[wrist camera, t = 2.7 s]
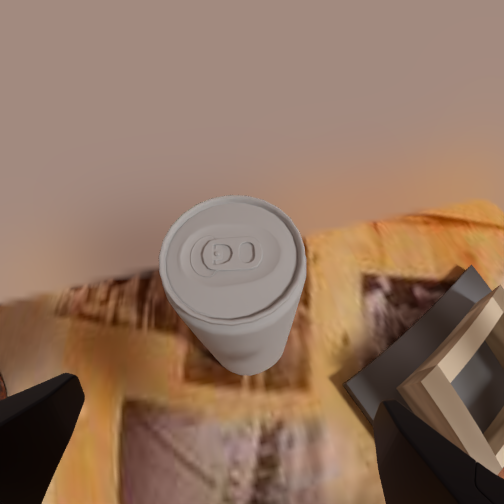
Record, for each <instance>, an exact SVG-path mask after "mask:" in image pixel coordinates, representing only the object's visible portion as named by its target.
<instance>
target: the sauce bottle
mask: <svg viewBox="0 0 504 504" xmlns="http://www.w3.org/2000/svg"><path fill="white" fill-rule="evenodd" d="M6 396H7V394H6V390H5V386H4V383H3V380H2V378H1V375H0V400H2V399H5V398H6Z"/></svg>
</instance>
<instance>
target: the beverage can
mask: <svg viewBox="0 0 504 504" xmlns="http://www.w3.org/2000/svg"><path fill="white" fill-rule="evenodd" d="M159 273H160V277H161V279H162V285H163V288H164V291H165V293H166V296H167V299H168V301H169V303H170V304H171V305H172V307H173V308H174V310H175V311H176V312H177V314H178V315H179V316H180V317H181V319H182V320H183V321H184V322H185V323H186V325H187V326H188V327H189V328H190V329H191V331H192V332H193V333H194V334H195V335H196V336H197V338H198V339H199V340H200V341H201V342H202V343H203V344H204V346H205V347H206V348H207V349H208V350H209V351H210V352H211V354H212V355H213V356H214V357H215V358H216V359H217V360H218V361H219V362H220V364H221V365H222V366H223V367H225V368H226V369H228V370H229V371H231V372H233V373H236V374H239V375H254V374H258V373H261V372H263V371H265V370H267V369H269V368H270V367H271V366H273V365H274V364H275V363H276V362H277V361H278V360H279V358H280V357H281V356H282V354H283V351H284V348H285V345H286V342H287V339H288V335H289V332H290V329H291V326H292V323H293V319H294V316H295V313H296V310H297V306H298V303H299V300H300V296H301V293H302V290H303V286H304V283H305V279H306V256H305V247H304V244H303V241H302V238H301V235H300V232H299V230H298V229H297V227H296V226H295V224H294V223H293V221H292V220H291V218H290V217H288V216H287V215H286V214H285V213H284V212H283V211H282V210H280V209H279V208H278V207H276V206H274V205H272V204H270V203H268V202H266V201H265V200H262V199H258V198H254V197H249V196H240V195H228V196H222V197H217V198H212V199H209V200H207V201H204V202H202V203H199V204H197V205H195V206H194V207H192V208H191V209H189V210H188V211H186V212H185V213H184V214H182V215H181V216H180V217H179V218H178V220H176V222H175V223H174V224H173V225H172V226H171V227H170V229H169V231H168V233H167V234H166V236H165V238H164V240H163V243H162V247H161V250H160V254H159Z"/></svg>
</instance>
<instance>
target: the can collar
mask: <svg viewBox="0 0 504 504" xmlns="http://www.w3.org/2000/svg"><path fill="white" fill-rule="evenodd" d="M343 386H344V387H345V389H346V390H347V391H348V393H349V394H350V396H351V397H352V398H353V400H354V401H355V402H356V404H357V405H358V407H359V408H360V409H361V411H362V412H363V414H364V415H365V416H366V418H367V419H368V420H369V422H370V423H371V425H372V426H373V420H374V417H375V415H376V412H377V409H378V407H379V404H380V402H381V401H382V400H388V399H396V400H397V401H398V402H400V403H401V404H402V405H404V406H405V407H406V408H407V409H409V410H410V411H411V412H413V413H414V414H415V415H416V416H418V417H419V418H420V419H422V420H423V421H424V422H426V423H427V424H428V425H429V426H431V427H432V428H433V429H435V430H436V431H437V432H439V433H440V434H441V435H443V436H444V437H445V438H447V439H448V440H449V441H450V442H452V443H453V444H454V445H456V446H457V447H458V448H460V449H461V450H463V451H464V452H465V453H467V454H468V455H469V456H471V457H472V458H473V459H475V460H476V462H479V463H480V464H482V465H483V466H484V467H486V468H487V469H489V470H490V471H492V472H493V473H495V474H496V475H498V473H499V472H500V471H501V470H502V468H503V467H504V289H503V288H502V286H501V285H499V286H498V287H497V288H495V289H494V290H493V291H491V289H490V288H489V287H488V285H487V284H486V283H485V281H484V280H483V279H482V277H481V276H480V275H479V273H478V272H477V271H476V270H475V268H474V267H473V266H472V265H471V266H470V267H469V268H468V269H466V270H465V272H464V273H463V274H462V275H461V276H460V277H459V278H458V280H457V281H456V282H455V283H454V284H453V285H452V286H451V287H450V288H449V289H448V291H447V292H446V293H445V294H444V295H443V296H442V297H441V298H440V299H439V300H438V301H437V302H436V303H435V304H434V305H433V306H432V307H431V308H430V309H429V310H428V311H427V312H426V313H425V314H424V315H423V316H422V317H421V318H420V319H419V320H418V321H417V322H416V323H415V324H414V325H413V326H412V327H411V328H410V329H409V330H407V331H406V332H405V333H404V334H403V335H402V336H401V337H400V338H399V339H398V340H396V341H395V342H394V343H393V344H392V345H391V346H390V347H388V348H387V349H386V350H385V351H384V352H383V353H381V354H380V355H379V356H378V357H377V358H376V359H374V360H373V361H372V362H371V363H369V364H368V365H367V366H366V367H365V368H363V369H362V370H361V371H359V372H358V373H357V374H356V375H354V376H353V377H352V378H350V379H349V380H348V381H347V382H345V383H344V384H343Z"/></svg>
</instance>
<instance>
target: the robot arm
mask: <svg viewBox="0 0 504 504" xmlns="http://www.w3.org/2000/svg"><path fill="white" fill-rule="evenodd" d="M84 400H85V395H84V392H83V389H82V387H81V384H80V381H79V379H78V377H77V376H76V375H73V374H70V373H63V374H61V375H59V376H57V377H54V378H52V379H50V380H47V381H45V382H43V383H40V384H38V385H36V386H33V387H31V388H29V389H26V390H24V391H22V392H19V393H17V394H15V395H12V396H10V397H7V398H5V399H2V400H0V504H41V503H42V501H43V498H44V496H45V494H46V491H47V489H48V487H49V484H50V482H51V480H52V477H53V475H54V473H55V471H56V468H57V466H58V464H59V462H60V460H61V458H62V455H63V453H64V451H65V449H66V447H67V445H68V443H69V441H70V438H71V436H72V433H73V431H74V428H75V425H76V422H77V419H78V417H79V414H80V411H81V409H82V406H83V403H84ZM373 430H374V438H375V446H376V454H377V463H378V470H379V475H380V479H381V484H382V488H383V492H384V497H385V501H386V504H504V479H503V478H501V477H499V476H497V475H496V474H495V473H493V472H492V471H490V470H489V469H487V468H486V467H484V466H483V465H482V464H480V463H479V462H476V460H475V459H473V458H472V457H471V456H469V455H468V454H467V453H465V452H464V451H463V450H461V449H460V448H458V447H457V446H456V445H454V444H453V443H452V442H450V441H449V440H448V439H447V438H445V437H444V436H443V435H441V434H440V433H439V432H437V431H436V430H435V429H433V428H432V427H431V426H429V425H428V424H427V423H426V422H424V421H423V420H422V419H420V418H419V417H418V416H416V415H415V414H414V413H413V412H411V411H410V410H409V409H407V408H406V407H405V406H404V405H402V404H401V403H400V402H398V401H397V400H396V399H388V400H382V401H381V402H380V404H379V407H378V409H377V412H376V415H375V417H374V420H373Z"/></svg>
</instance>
